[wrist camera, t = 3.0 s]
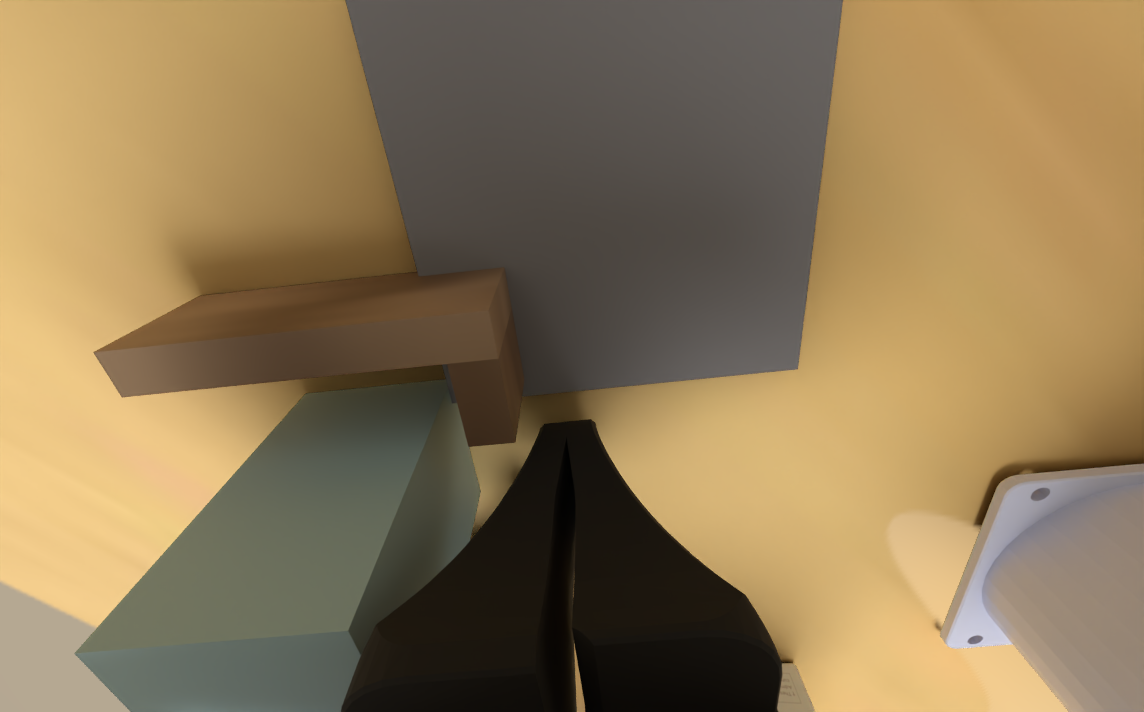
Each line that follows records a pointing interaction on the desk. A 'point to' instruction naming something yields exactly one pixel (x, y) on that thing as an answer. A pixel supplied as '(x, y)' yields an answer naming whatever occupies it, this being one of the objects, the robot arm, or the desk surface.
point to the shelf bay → (339, 341)
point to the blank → (297, 558)
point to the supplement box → (793, 691)
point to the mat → (613, 171)
